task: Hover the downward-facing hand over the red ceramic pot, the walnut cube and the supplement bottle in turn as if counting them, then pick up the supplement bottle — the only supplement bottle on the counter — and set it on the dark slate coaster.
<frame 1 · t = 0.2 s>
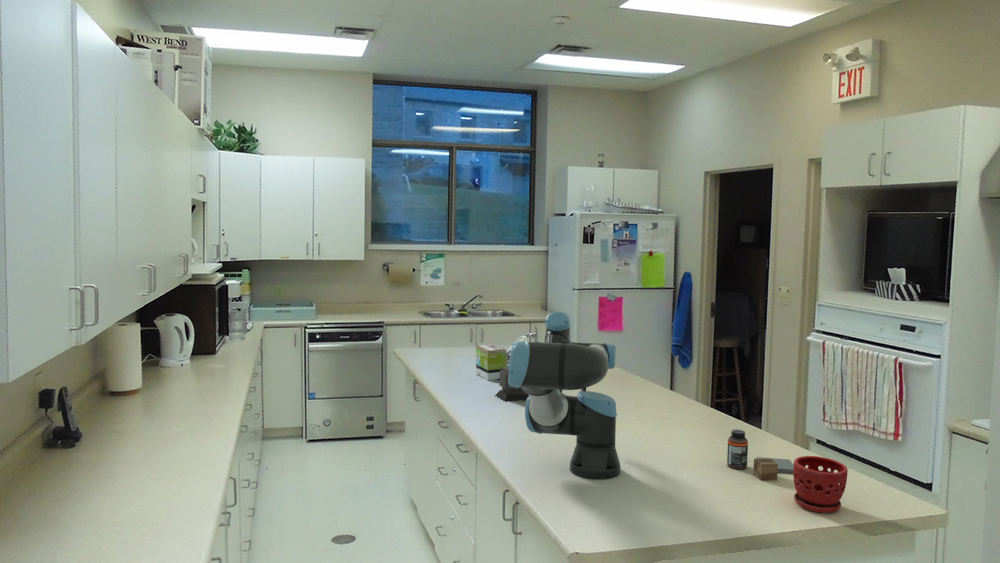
hand: (562, 395, 249), 15 cm above the counter, tool tilted 35°, fingers open, 13 cm apart
supplement bottle: (736, 467, 225), on the counter
juicer: (531, 396, 313), on the counter
walnut cube: (765, 477, 216), on the counter
coaster: (776, 467, 225), on the counter
plant pot: (818, 507, 193), on the counter
tea box: (490, 377, 351), on the counter
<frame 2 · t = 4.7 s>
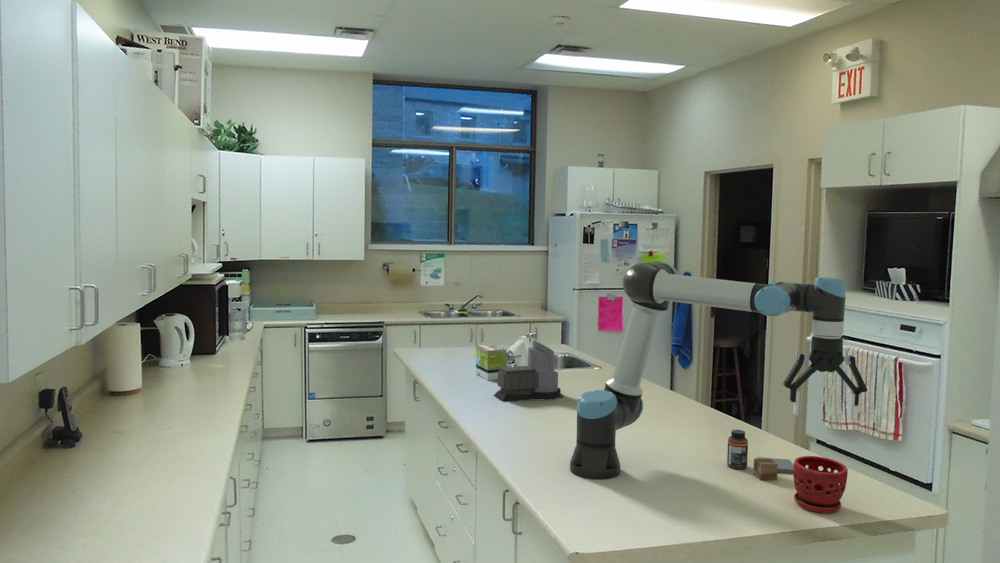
hand: (823, 416, 191), 25 cm above the counter, tool pointing down, fingers open, 13 cm apart
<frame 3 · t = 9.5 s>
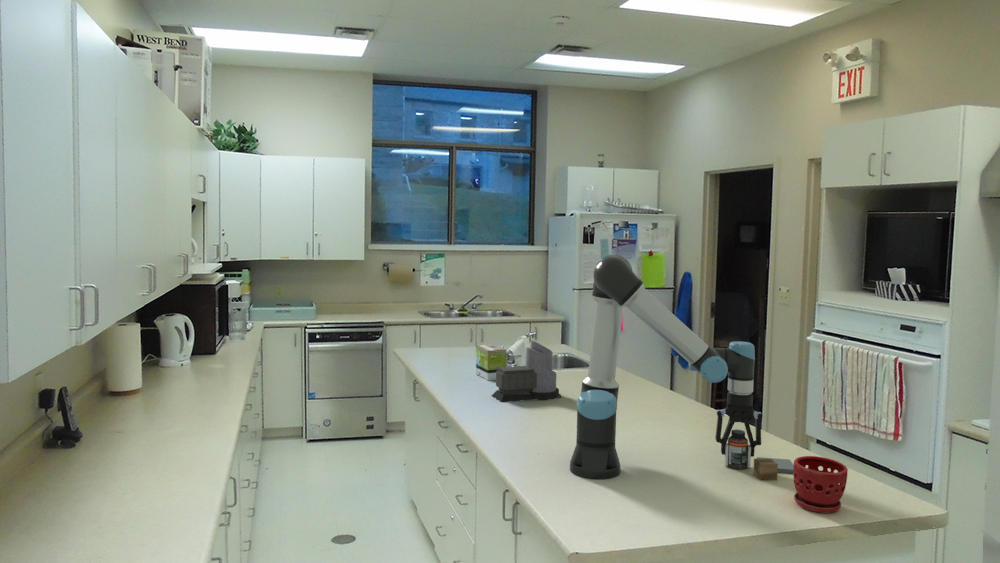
hand: (736, 465, 225), 0 cm above the counter, tool pointing down, fingers closed on supplement bottle, 6 cm apart
supplement bottle: (736, 467, 225), on the counter, touching gripper
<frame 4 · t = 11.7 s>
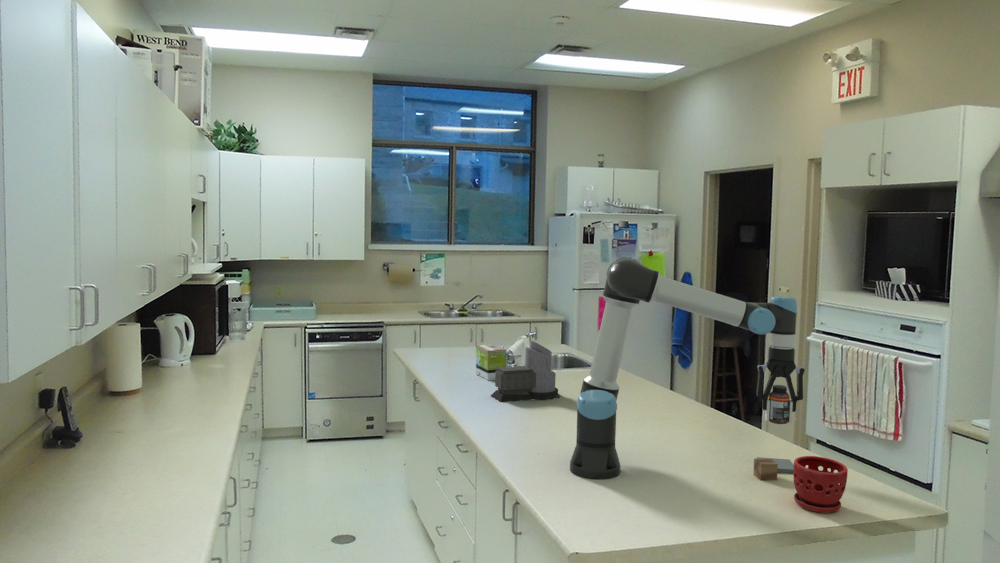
hand: (778, 420, 224), 15 cm above the counter, tool pointing down, fingers closed on supplement bottle, 6 cm apart
supplement bottle: (778, 422, 224), point 14 cm above the counter, touching gripper
when the fingers open (3 cm above the counter, at t = 14.0 s): supplement bottle drops 2 cm, resting on coaster.
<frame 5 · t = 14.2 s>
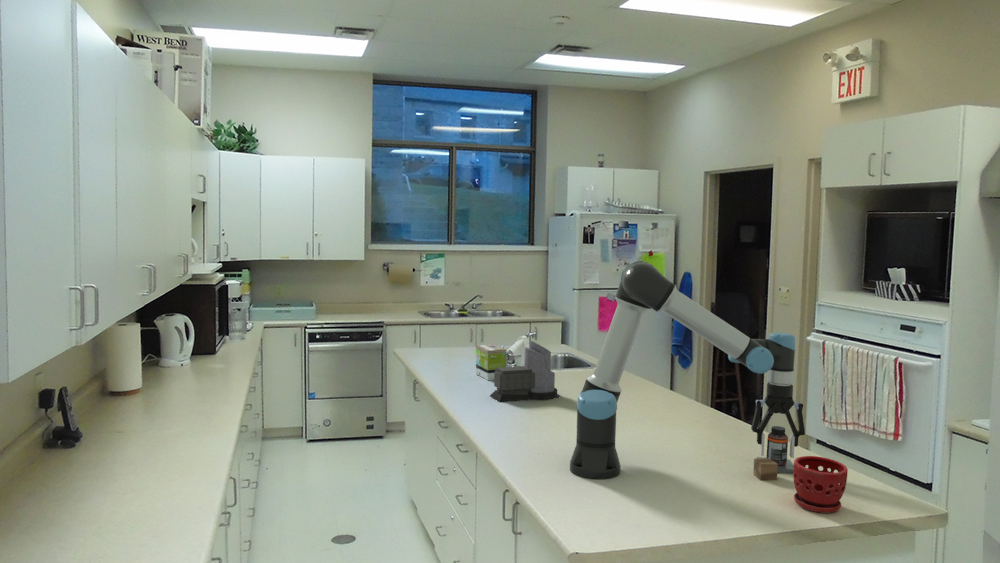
hand: (776, 455, 225), 4 cm above the counter, tool pointing down, fingers open, 8 cm apart
supplement bottle: (776, 463, 225), point 1 cm above the counter, touching coaster
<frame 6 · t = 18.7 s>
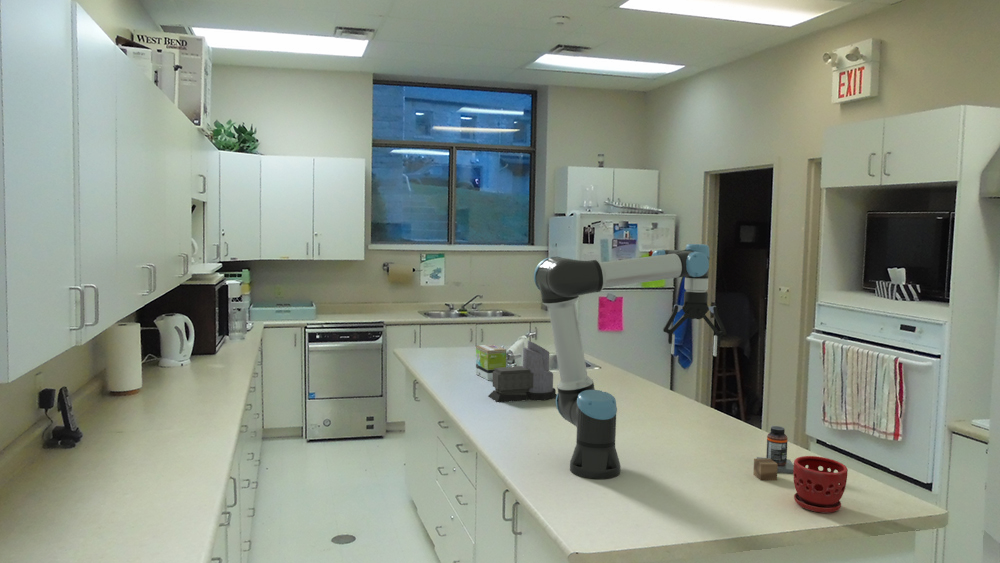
hand: (693, 354, 240), 32 cm above the counter, tool pointing down, fingers open, 13 cm apart
at the end: supplement bottle inside the target area on the coaster (0.0 cm from its centre), point 1.0 cm above the coaster's base; supplement bottle tilted 0°; the gripper is holding nothing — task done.
